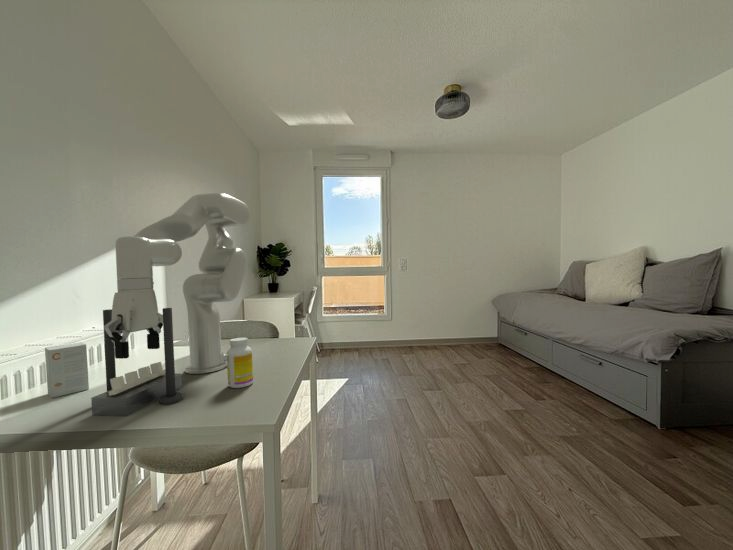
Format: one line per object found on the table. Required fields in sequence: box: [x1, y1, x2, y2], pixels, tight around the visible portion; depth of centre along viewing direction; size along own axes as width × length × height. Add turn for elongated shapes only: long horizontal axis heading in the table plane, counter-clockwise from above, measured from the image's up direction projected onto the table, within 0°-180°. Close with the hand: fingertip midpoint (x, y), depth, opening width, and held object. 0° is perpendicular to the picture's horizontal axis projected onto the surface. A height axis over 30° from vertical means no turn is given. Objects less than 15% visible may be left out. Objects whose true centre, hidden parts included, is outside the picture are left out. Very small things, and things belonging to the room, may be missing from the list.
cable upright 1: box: [102, 308, 117, 392], centre depth 87 cm, size 5×5×23 cm
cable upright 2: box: [159, 307, 184, 406], centre depth 84 cm, size 5×5×23 cm
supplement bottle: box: [226, 337, 254, 389], centre depth 94 cm, size 7×7×13 cm
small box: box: [44, 341, 90, 399], centre depth 94 cm, size 8×6×13 cm
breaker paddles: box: [109, 361, 165, 396], centre depth 85 cm, size 16×2×4 cm, turn 171°
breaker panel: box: [90, 373, 183, 417], centre depth 85 cm, size 18×9×4 cm, turn 171°
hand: (138, 353), depth 85 cm, fingers open, 9 cm apart
